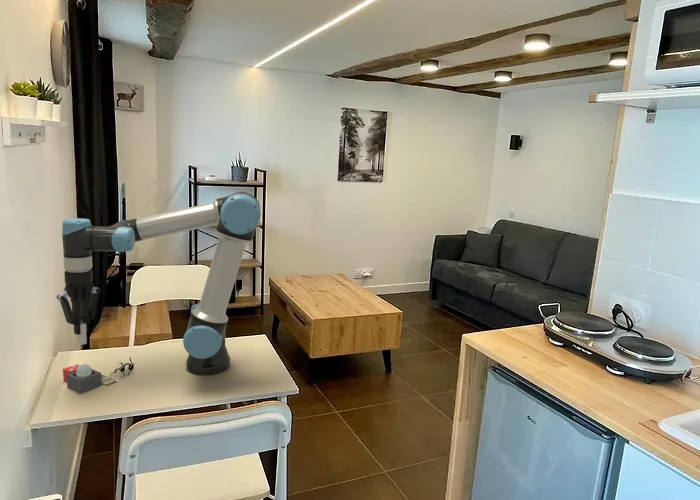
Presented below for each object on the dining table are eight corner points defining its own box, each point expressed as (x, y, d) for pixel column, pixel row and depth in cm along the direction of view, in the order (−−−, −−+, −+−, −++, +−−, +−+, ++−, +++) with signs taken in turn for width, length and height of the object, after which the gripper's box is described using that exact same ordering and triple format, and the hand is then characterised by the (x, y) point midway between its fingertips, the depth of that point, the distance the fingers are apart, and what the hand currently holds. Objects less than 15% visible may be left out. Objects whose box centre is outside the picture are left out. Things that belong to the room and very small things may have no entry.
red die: (82, 379, 159) (82, 366, 158) (70, 383, 155) (70, 370, 154) (75, 376, 161) (74, 363, 160) (63, 380, 157) (62, 367, 156)
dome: (94, 377, 154) (94, 364, 153) (81, 382, 150) (81, 368, 149) (86, 374, 156) (85, 360, 155) (73, 378, 152) (73, 365, 151)
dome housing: (101, 385, 155) (101, 372, 154) (80, 394, 149) (79, 380, 148) (88, 380, 158) (87, 367, 158) (67, 388, 152) (66, 374, 152)
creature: (113, 384, 159) (138, 374, 163) (109, 370, 157) (134, 360, 161) (109, 375, 165) (133, 366, 169) (104, 362, 163) (129, 352, 167)
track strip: (117, 381, 158) (117, 380, 158) (105, 386, 155) (105, 384, 155) (77, 365, 169) (76, 363, 169) (65, 369, 165) (65, 367, 165)
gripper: (91, 264, 154) (94, 334, 158) (49, 271, 143) (53, 346, 147) (106, 268, 150) (108, 339, 155) (64, 275, 139) (68, 352, 144)
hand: (81, 343), depth 151 cm, fingers closed
